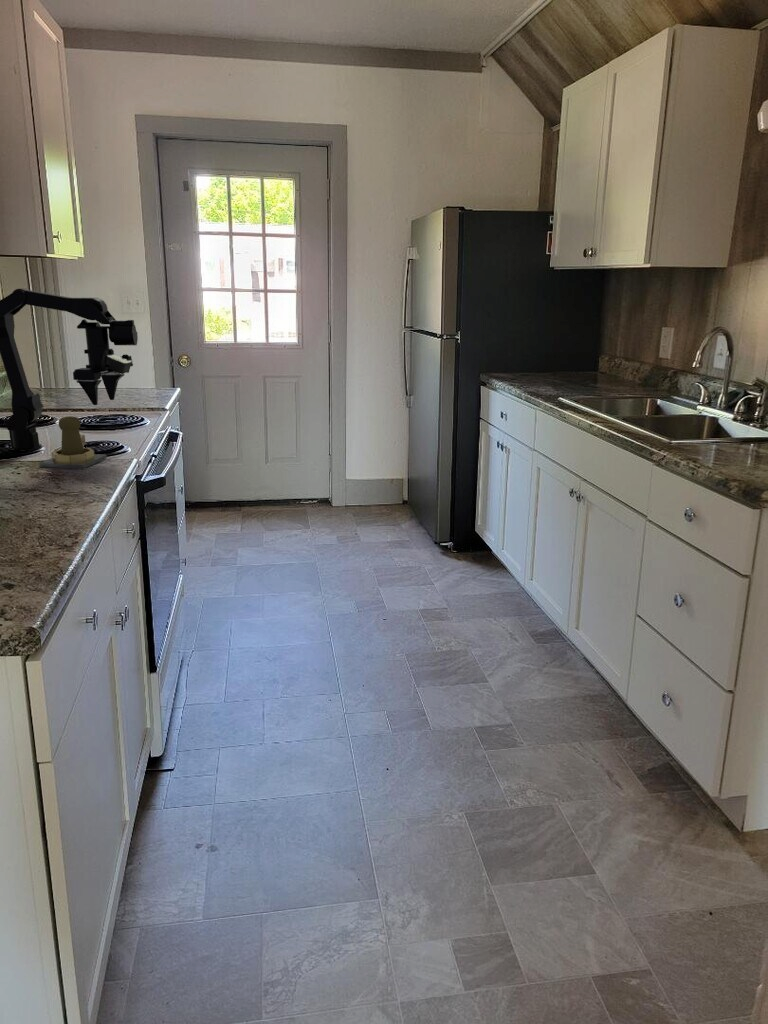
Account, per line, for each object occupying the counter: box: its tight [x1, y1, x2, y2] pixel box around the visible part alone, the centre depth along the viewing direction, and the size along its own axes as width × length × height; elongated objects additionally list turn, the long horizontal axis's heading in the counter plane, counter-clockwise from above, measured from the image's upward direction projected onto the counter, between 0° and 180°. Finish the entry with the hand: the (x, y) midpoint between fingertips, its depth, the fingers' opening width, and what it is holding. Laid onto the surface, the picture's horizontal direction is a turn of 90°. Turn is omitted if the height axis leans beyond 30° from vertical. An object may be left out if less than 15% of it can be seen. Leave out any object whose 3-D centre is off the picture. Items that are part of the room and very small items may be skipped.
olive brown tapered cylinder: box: [58, 415, 85, 455], centre depth 198 cm, size 6×6×11 cm
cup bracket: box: [38, 447, 108, 470], centre depth 199 cm, size 12×12×3 cm
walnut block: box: [80, 434, 87, 446], centre depth 213 cm, size 5×5×4 cm
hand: (103, 402), depth 213 cm, fingers open, 9 cm apart
